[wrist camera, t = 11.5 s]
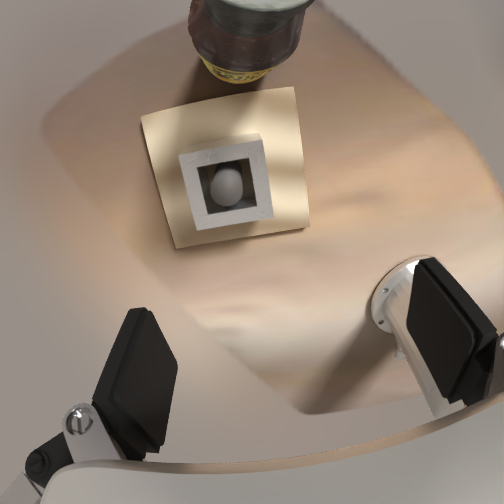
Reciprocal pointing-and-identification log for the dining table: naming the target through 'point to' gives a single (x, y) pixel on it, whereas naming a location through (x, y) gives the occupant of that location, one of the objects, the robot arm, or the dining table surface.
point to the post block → (231, 172)
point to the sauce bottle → (245, 35)
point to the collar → (198, 185)
